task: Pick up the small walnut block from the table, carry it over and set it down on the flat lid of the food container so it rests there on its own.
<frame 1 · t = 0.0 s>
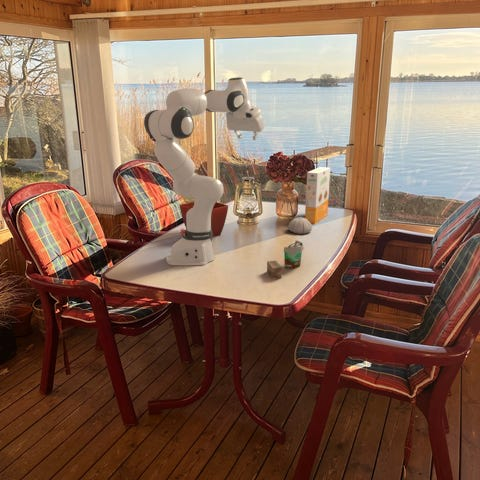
hand: (247, 138, 234), 52 cm above the table, tool tilted 20°, fingers open, 8 cm apart
cereal box: (316, 219, 289), on the table
walnut block: (274, 275, 202), on the table
sea urchin shell: (299, 232, 264), on the table
plant pot: (204, 235, 256), on the table
food container: (295, 266, 212), on the table
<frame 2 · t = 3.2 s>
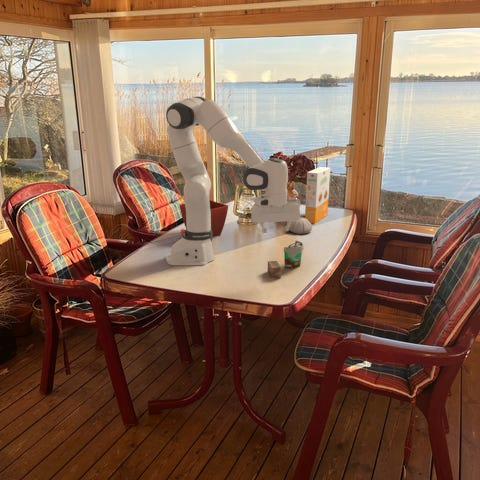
hand: (275, 231, 196), 19 cm above the table, tool pointing down, fingers open, 8 cm apart
nothing on the table moved.
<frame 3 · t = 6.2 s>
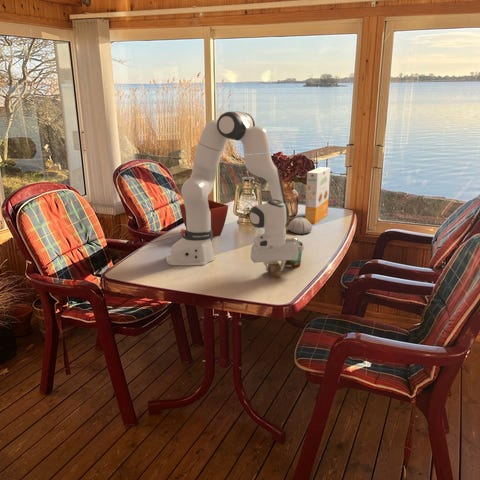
hand: (274, 270, 201), 2 cm above the table, tool pointing down, fingers closed on walnut block, 4 cm apart
walnut block: (274, 274, 202), on the table, touching gripper
everything else where it was.
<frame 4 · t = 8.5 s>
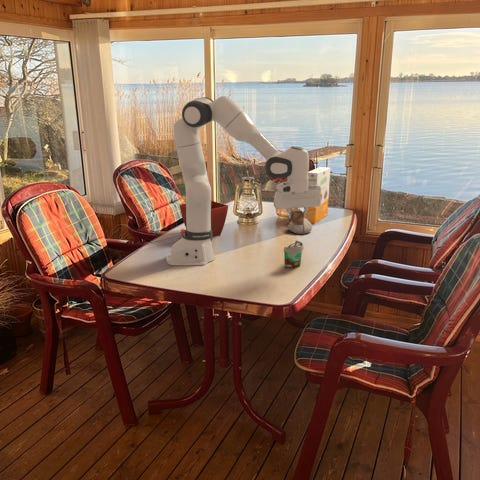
hand: (296, 217, 204), 23 cm above the table, tool pointing down, fingers closed on walnut block, 4 cm apart
walnut block: (296, 222, 204), point 21 cm above the table, touching gripper
everything else where it was.
when the fingers open (13 cm above the table, at t = 11.1 s): walnut block stays where it is, resting on food container.
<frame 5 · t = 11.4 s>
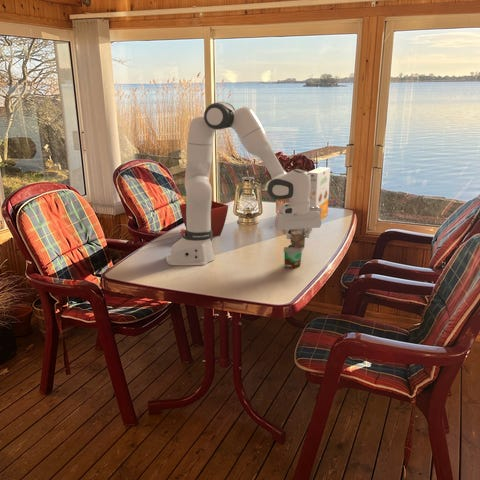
hand: (297, 238, 208), 13 cm above the table, tool pointing down, fingers open, 7 cm apart
walnut block: (297, 244, 209), point 10 cm above the table, touching food container
food container: (295, 266, 212), on the table, touching walnut block
everything else where it was.
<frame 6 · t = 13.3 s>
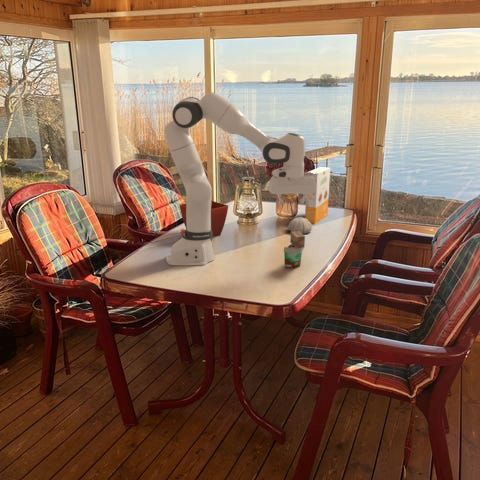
hand: (291, 203, 207), 28 cm above the table, tool pointing down, fingers open, 8 cm apart
nothing on the table moved.
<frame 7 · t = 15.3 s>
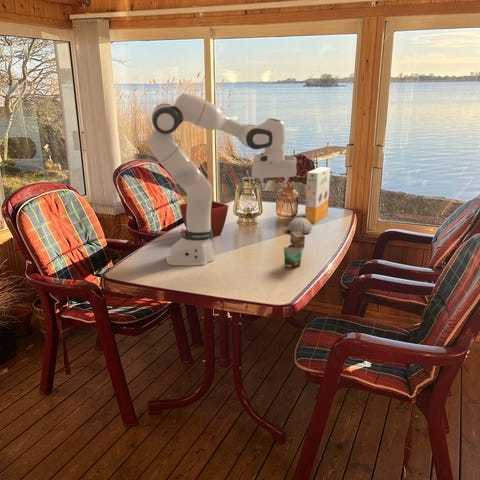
hand: (273, 187, 215), 33 cm above the table, tool pointing down, fingers open, 8 cm apart
nothing on the table moved.
at the end: walnut block inside the target area in the food container (0.4 cm from its centre), point 10.2 cm above the food container's base; food container tilted 0°; the gripper is holding nothing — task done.
